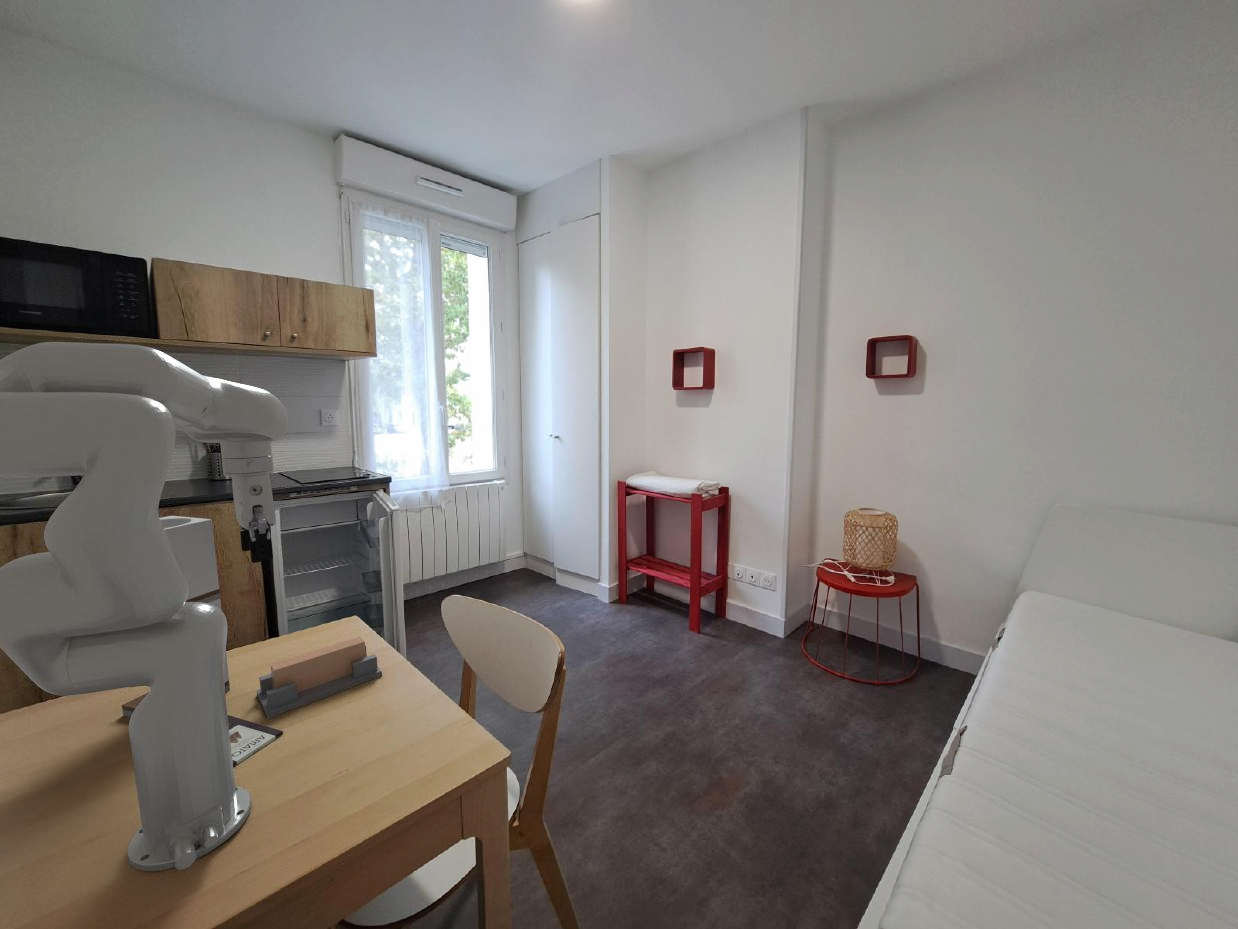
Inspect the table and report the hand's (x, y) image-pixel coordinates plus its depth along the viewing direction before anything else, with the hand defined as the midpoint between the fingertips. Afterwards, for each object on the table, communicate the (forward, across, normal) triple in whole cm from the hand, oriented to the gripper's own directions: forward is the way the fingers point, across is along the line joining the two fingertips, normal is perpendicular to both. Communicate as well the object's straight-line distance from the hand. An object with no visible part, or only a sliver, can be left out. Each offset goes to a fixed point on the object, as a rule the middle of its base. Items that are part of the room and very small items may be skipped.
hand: (257, 555), depth 94 cm
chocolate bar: (+29, -10, +9) cm, 32 cm away
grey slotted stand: (+28, -4, -8) cm, 30 cm away
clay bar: (+27, -4, -8) cm, 29 cm away
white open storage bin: (+28, +9, +13) cm, 33 cm away
